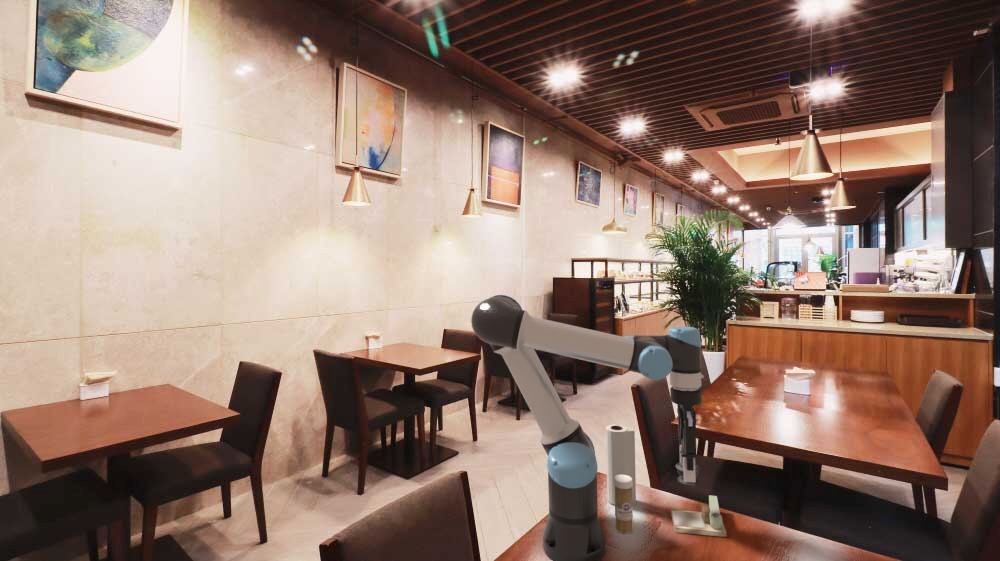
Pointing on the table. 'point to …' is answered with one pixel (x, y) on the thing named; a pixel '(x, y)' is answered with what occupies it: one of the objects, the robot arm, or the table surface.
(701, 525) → the board
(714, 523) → the leg
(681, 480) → the grey stone chess piece
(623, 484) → the sprinkles bottle
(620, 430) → the paper towel roll
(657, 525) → the table surface
